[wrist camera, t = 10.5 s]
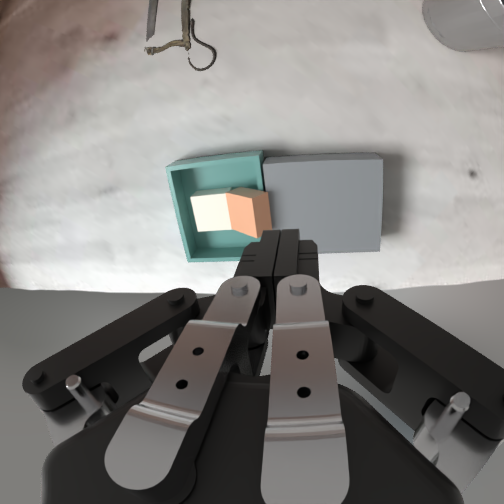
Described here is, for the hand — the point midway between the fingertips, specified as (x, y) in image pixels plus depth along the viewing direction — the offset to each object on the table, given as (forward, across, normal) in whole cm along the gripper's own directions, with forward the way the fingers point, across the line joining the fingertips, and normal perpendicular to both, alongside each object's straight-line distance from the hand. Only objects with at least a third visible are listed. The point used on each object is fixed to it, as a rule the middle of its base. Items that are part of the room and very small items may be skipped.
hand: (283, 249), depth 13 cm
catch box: (+27, +10, +7) cm, 30 cm away
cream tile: (+24, +12, +7) cm, 28 cm away
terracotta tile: (+24, +6, +7) cm, 26 cm away
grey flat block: (+27, -3, +7) cm, 28 cm away
